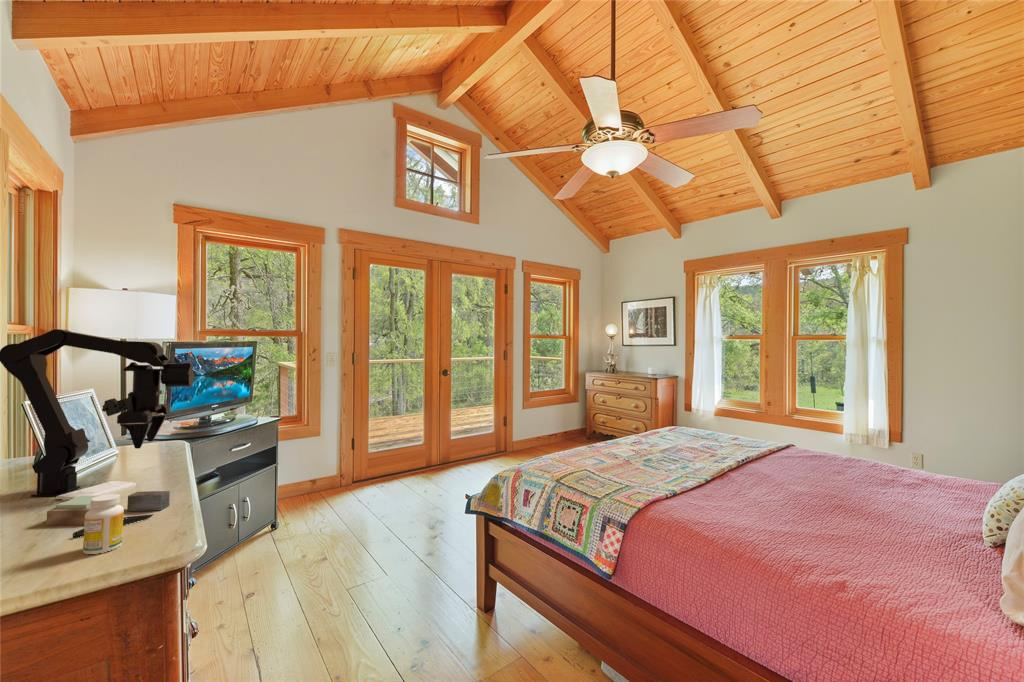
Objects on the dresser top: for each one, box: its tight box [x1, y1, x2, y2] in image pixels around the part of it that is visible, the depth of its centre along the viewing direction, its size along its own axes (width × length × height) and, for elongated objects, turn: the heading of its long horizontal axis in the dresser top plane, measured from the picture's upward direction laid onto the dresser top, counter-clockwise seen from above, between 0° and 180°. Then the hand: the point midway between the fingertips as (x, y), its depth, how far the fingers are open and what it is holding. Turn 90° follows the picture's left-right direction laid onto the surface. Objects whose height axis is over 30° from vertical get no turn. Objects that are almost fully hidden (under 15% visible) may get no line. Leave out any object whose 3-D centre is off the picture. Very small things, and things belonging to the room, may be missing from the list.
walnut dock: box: [46, 507, 92, 526], centre depth 94 cm, size 10×5×3 cm, turn 98°
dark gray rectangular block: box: [127, 490, 171, 512], centre depth 102 cm, size 7×3×4 cm, turn 98°
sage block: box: [55, 495, 101, 509], centre depth 96 cm, size 6×6×4 cm
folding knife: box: [72, 514, 155, 539], centre depth 91 cm, size 13×1×2 cm, turn 147°
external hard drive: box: [55, 480, 137, 501], centre depth 112 cm, size 2×8×12 cm
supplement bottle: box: [82, 493, 125, 555], centre depth 82 cm, size 5×5×10 cm
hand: (144, 444), depth 119 cm, fingers open, 9 cm apart
